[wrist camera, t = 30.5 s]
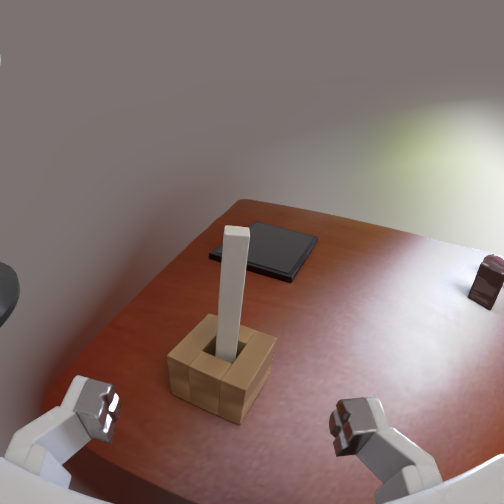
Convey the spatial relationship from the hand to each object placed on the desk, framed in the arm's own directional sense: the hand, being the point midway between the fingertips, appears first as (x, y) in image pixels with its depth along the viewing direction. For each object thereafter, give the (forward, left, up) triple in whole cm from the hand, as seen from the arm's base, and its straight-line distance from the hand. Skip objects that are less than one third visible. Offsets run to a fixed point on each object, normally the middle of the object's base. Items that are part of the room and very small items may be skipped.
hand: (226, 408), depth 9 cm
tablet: (-12, +42, -13) cm, 46 cm away
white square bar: (-5, +10, -13) cm, 17 cm away
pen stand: (-5, +10, -13) cm, 17 cm away
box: (+32, +46, -13) cm, 58 cm away
